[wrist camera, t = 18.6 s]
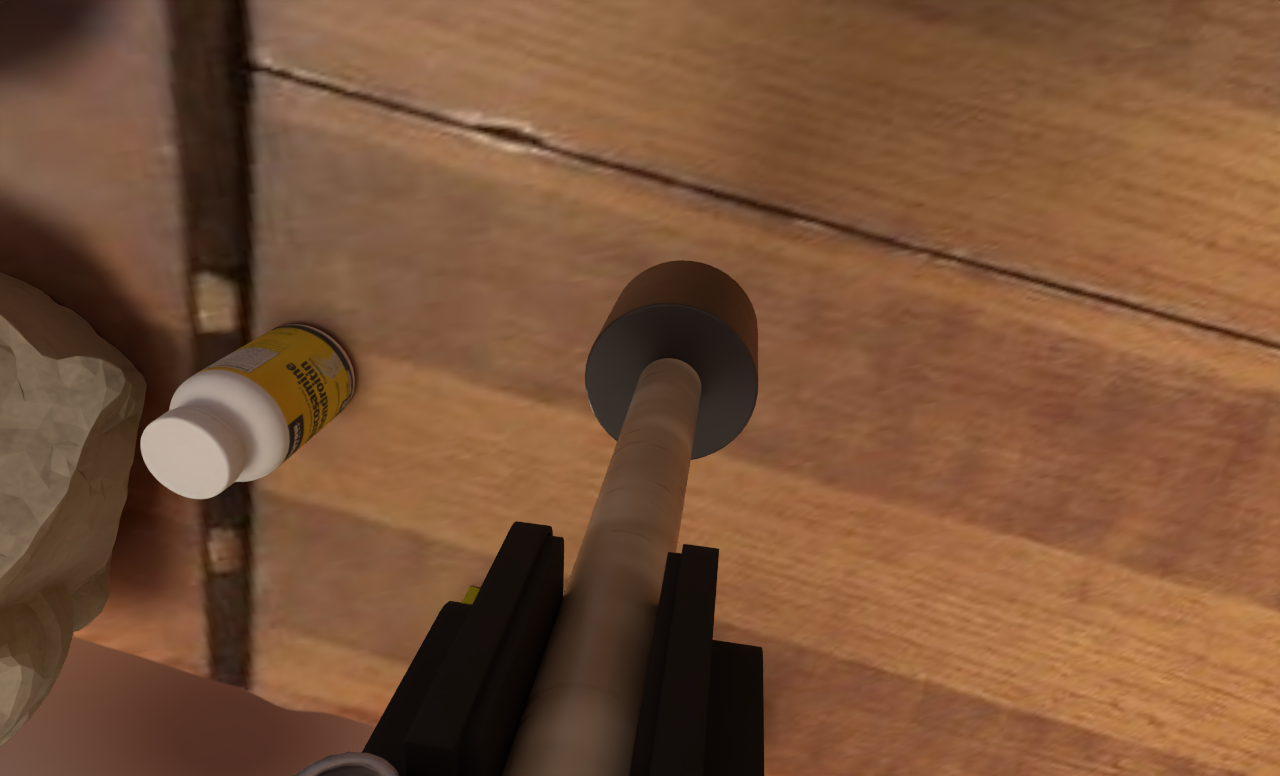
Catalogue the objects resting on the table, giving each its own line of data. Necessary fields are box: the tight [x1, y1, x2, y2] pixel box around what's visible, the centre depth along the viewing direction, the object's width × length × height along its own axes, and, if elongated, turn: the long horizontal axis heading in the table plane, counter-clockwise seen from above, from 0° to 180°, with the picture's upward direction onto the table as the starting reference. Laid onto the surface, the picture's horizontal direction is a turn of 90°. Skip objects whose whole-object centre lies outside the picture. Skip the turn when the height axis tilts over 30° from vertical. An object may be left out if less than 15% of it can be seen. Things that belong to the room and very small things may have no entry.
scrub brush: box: [501, 261, 758, 776], centre depth 14 cm, size 4×4×18 cm
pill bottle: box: [140, 324, 355, 499], centre depth 42 cm, size 6×6×12 cm
